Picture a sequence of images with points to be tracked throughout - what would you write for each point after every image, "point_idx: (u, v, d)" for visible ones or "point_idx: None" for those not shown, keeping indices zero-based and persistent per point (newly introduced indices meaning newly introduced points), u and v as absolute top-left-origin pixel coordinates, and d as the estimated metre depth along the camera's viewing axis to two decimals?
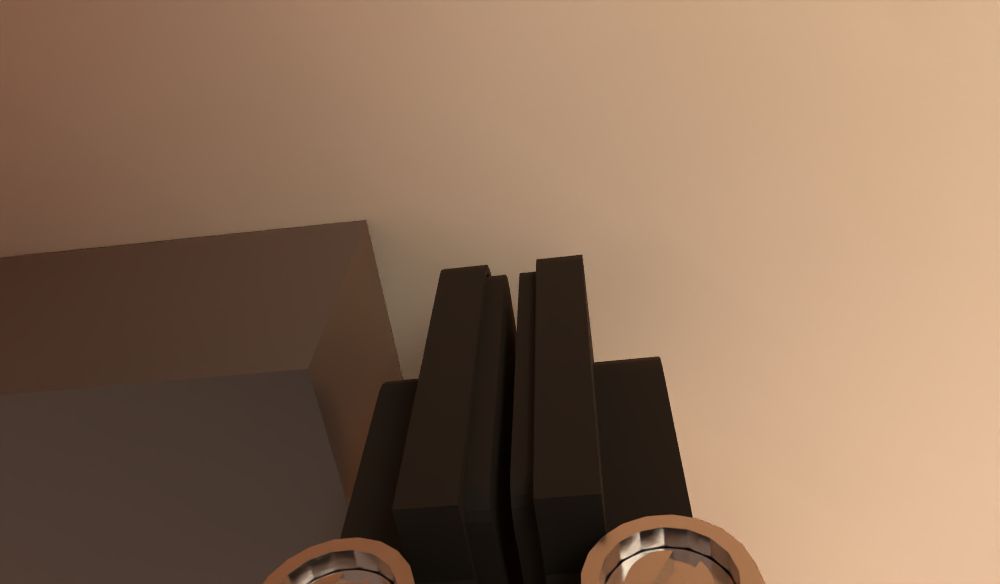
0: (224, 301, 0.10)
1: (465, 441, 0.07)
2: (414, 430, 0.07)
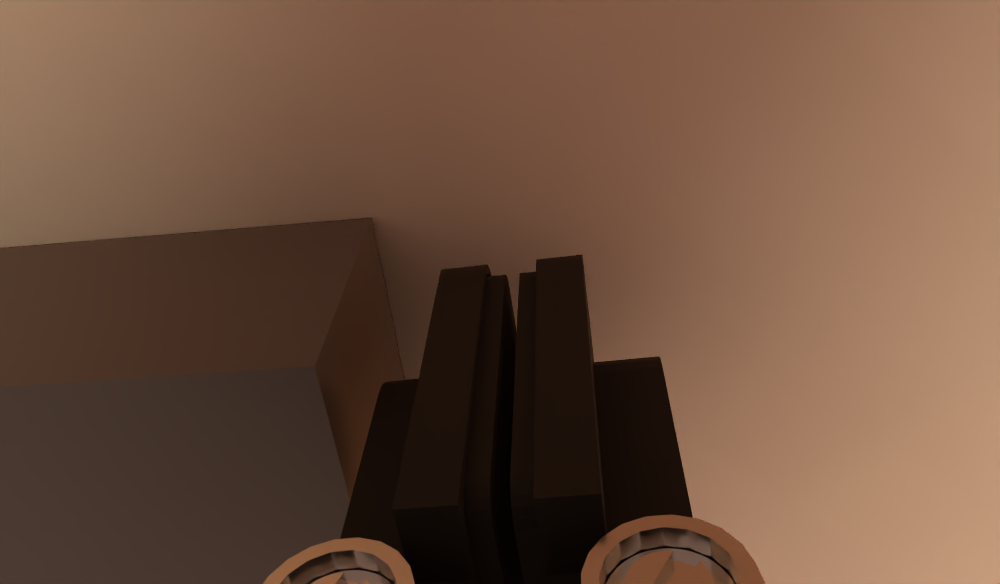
0: (230, 297, 0.10)
1: (465, 442, 0.07)
2: (414, 430, 0.07)
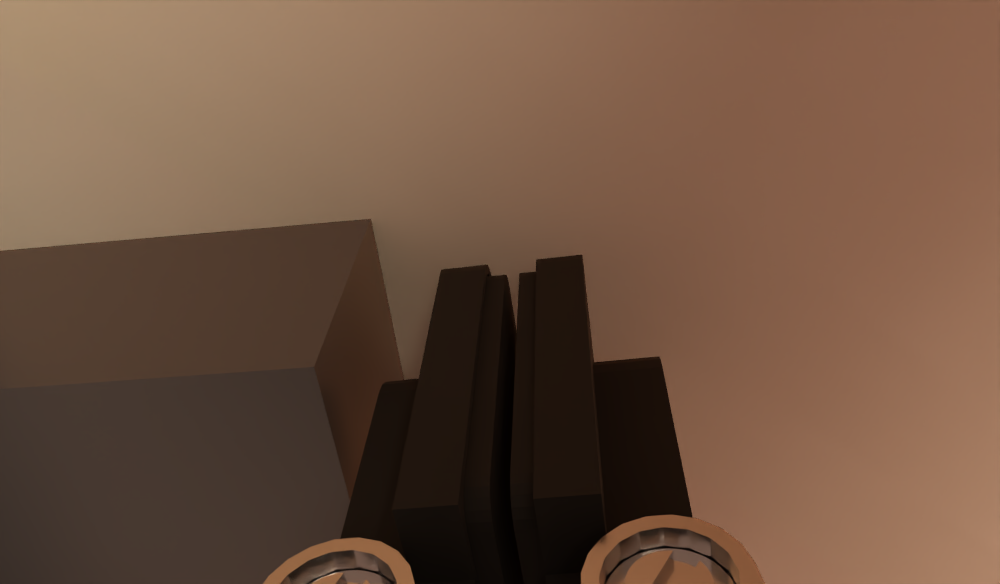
0: (230, 298, 0.10)
1: (465, 441, 0.07)
2: (414, 430, 0.07)
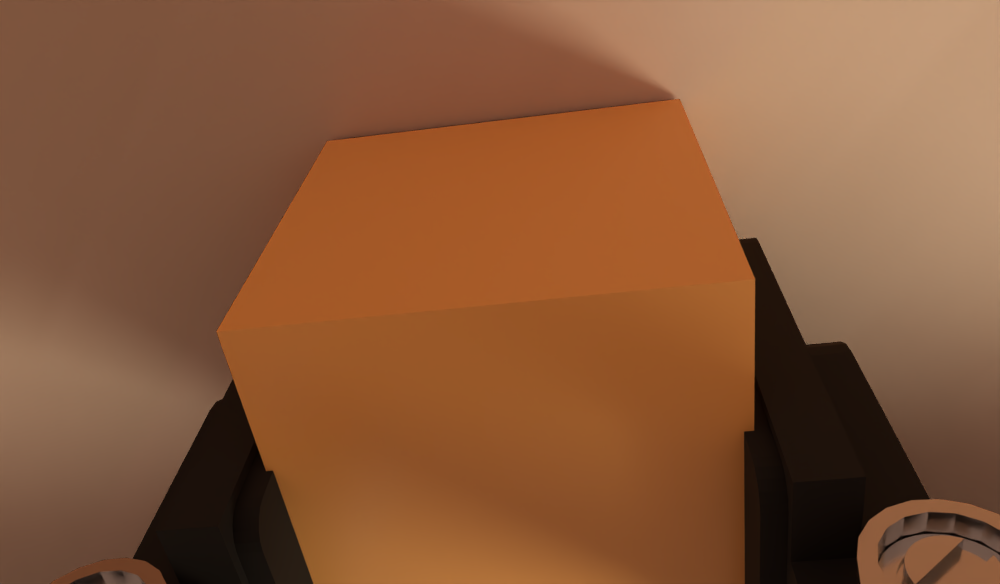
0: None
1: (245, 463, 0.07)
2: (202, 451, 0.08)
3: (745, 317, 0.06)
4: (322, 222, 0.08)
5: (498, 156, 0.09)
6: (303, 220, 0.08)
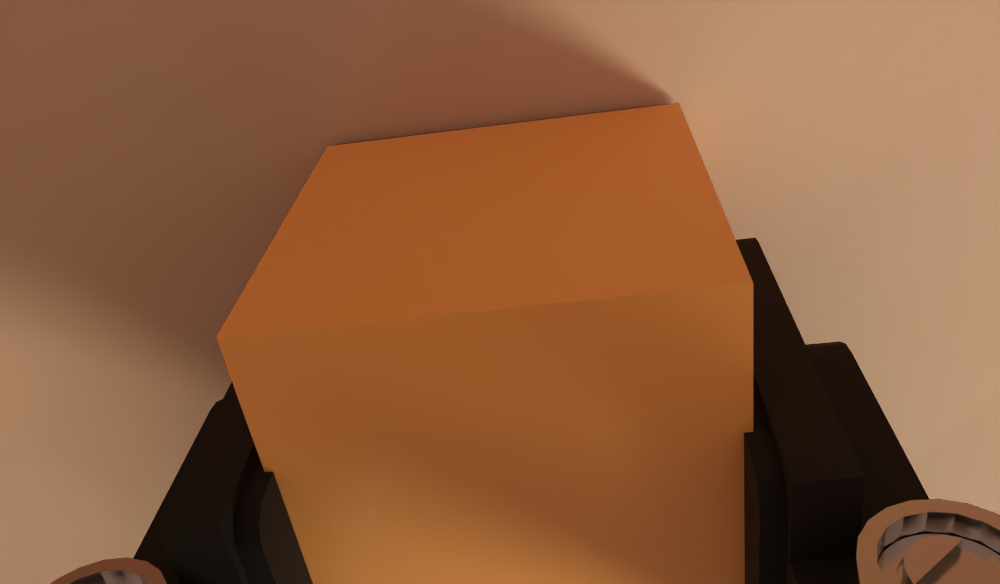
0: None
1: (246, 462, 0.07)
2: (203, 451, 0.08)
3: (744, 321, 0.06)
4: (322, 228, 0.08)
5: (498, 160, 0.09)
6: (303, 225, 0.08)
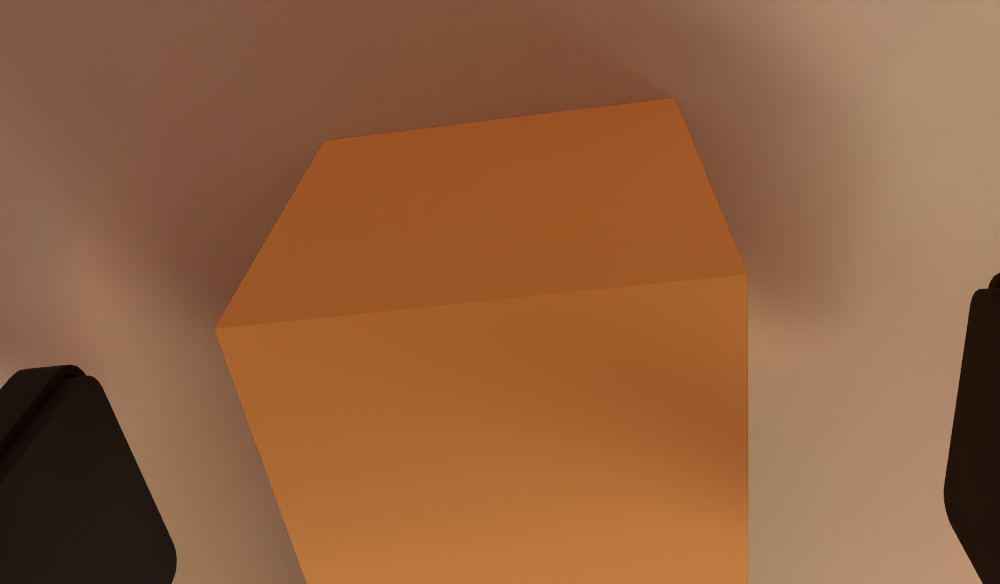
0: None
1: None
2: None
3: (738, 312, 0.06)
4: (319, 221, 0.08)
5: (495, 154, 0.09)
6: (300, 218, 0.08)
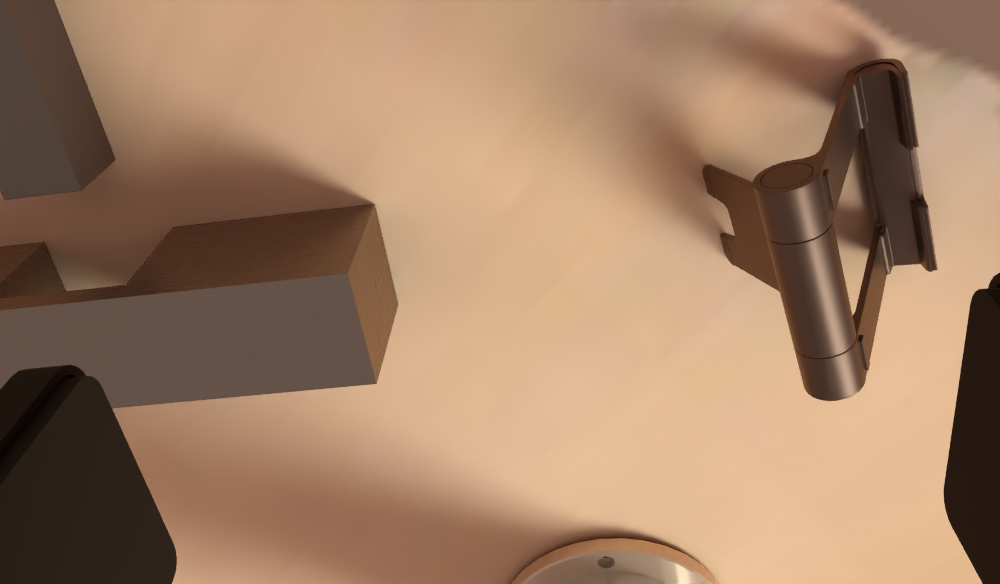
0: (85, 145, 0.35)
1: None
2: None
3: None
4: None
5: None
6: None
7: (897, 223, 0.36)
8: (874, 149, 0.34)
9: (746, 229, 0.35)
